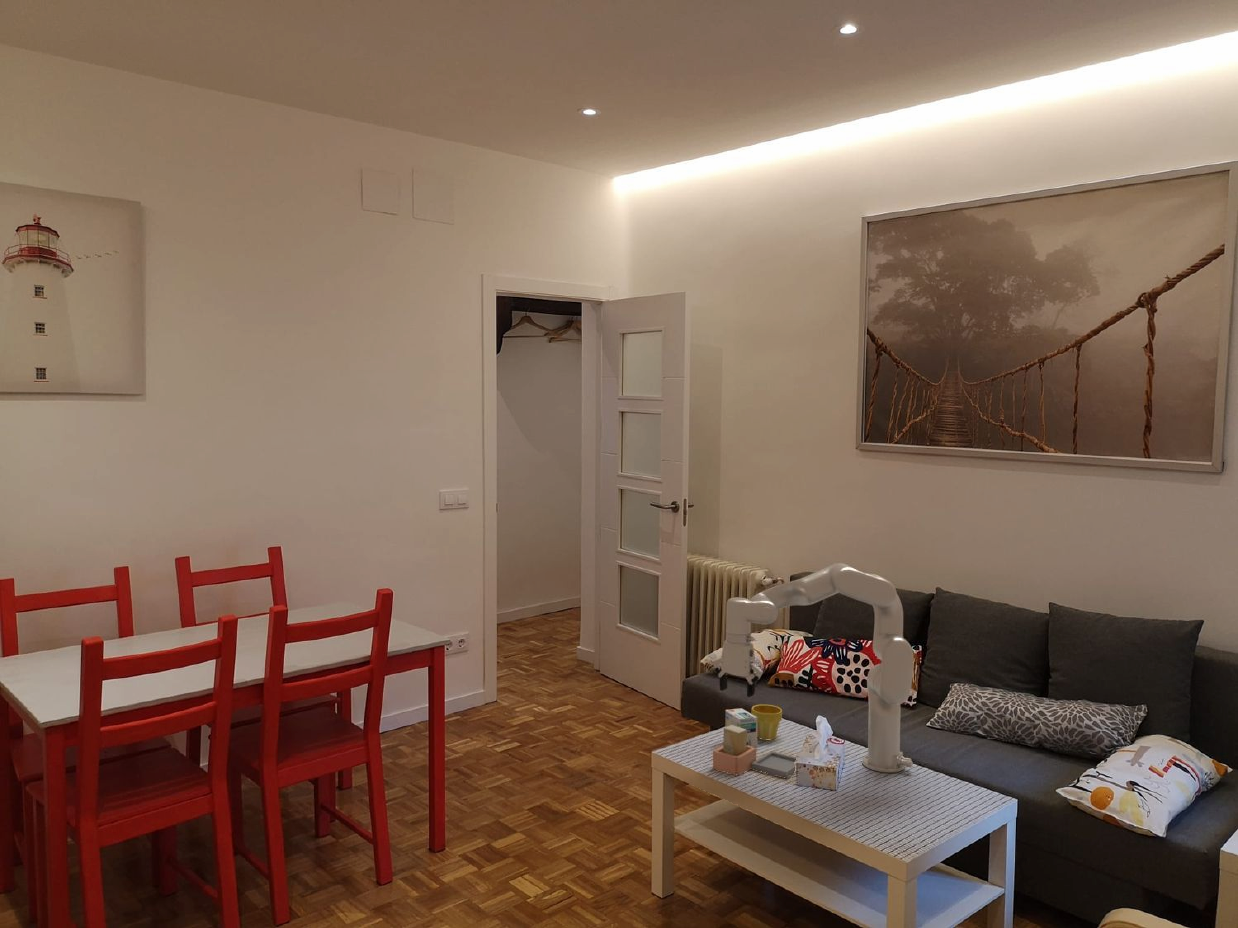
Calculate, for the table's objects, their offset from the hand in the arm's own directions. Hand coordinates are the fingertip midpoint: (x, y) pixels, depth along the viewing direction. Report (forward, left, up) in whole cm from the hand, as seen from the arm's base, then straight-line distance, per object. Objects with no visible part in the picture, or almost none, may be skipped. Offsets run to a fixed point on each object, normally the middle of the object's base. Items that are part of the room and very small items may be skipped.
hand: (736, 692), depth 273 cm
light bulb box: (+8, -17, -24) cm, 30 cm away
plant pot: (+5, -29, -23) cm, 38 cm away
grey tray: (-11, -7, -23) cm, 27 cm away
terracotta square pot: (0, +1, -23) cm, 23 cm away
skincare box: (0, +1, -23) cm, 23 cm away
